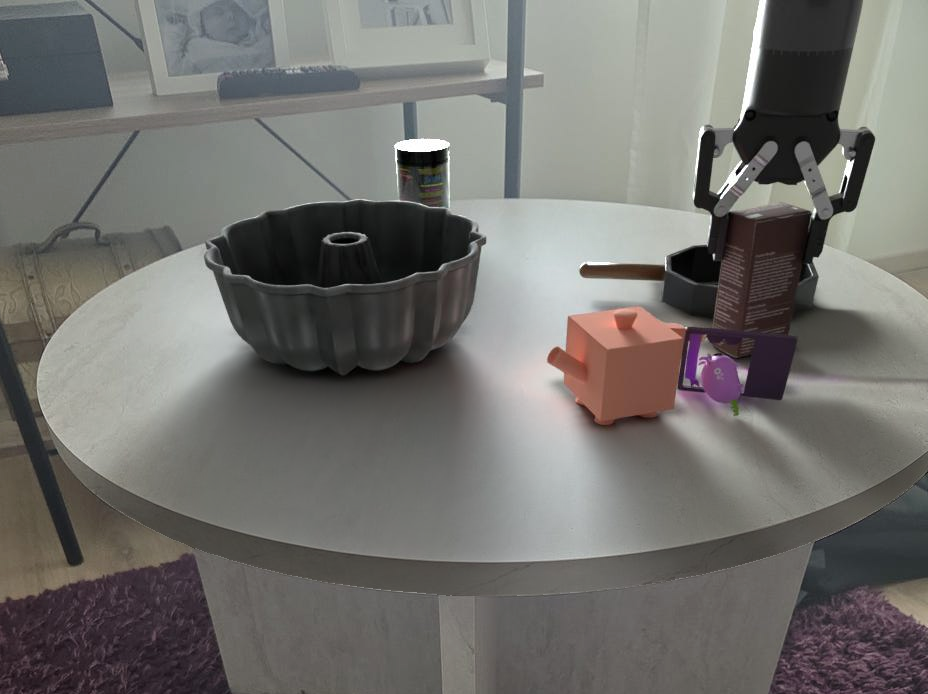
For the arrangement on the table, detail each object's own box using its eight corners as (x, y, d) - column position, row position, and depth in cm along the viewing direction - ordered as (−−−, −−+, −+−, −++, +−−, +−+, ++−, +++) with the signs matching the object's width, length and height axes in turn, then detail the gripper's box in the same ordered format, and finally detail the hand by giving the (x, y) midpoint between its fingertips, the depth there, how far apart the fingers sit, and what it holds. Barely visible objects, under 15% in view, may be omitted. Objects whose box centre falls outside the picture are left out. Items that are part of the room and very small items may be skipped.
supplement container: (461, 232, 120) (460, 144, 113) (424, 244, 116) (421, 153, 109) (425, 223, 123) (422, 136, 117) (388, 234, 120) (383, 145, 113)
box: (756, 332, 89) (782, 199, 81) (787, 349, 86) (817, 212, 78) (704, 343, 87) (726, 208, 79) (734, 360, 84) (759, 221, 76)
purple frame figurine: (799, 329, 74) (686, 320, 76) (794, 373, 72) (678, 363, 74) (783, 391, 80) (678, 381, 82) (778, 434, 77) (670, 422, 80)
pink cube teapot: (528, 399, 81) (532, 306, 75) (651, 380, 83) (663, 288, 78) (563, 438, 75) (569, 340, 70) (694, 416, 77) (709, 320, 72)
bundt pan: (412, 418, 78) (406, 301, 72) (166, 370, 87) (141, 263, 81) (523, 314, 97) (526, 213, 90) (310, 283, 105) (299, 190, 99)
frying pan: (798, 282, 102) (806, 244, 100) (816, 335, 90) (826, 294, 88) (581, 274, 106) (584, 238, 103) (572, 324, 94) (574, 285, 91)
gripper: (710, 46, 69) (680, 271, 79) (911, 46, 67) (852, 276, 77) (706, 34, 75) (678, 245, 85) (891, 33, 73) (839, 249, 83)
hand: (761, 259), depth 81 cm, fingers closed on box, 7 cm apart
